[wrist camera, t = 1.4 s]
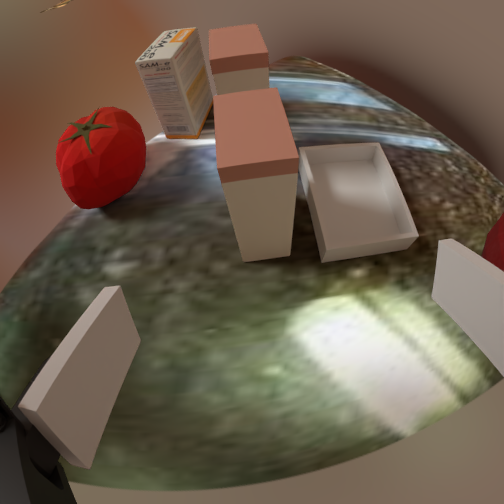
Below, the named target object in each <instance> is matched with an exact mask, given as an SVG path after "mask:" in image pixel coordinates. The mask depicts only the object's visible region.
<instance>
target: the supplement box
mask: <svg viewBox="0 0 504 504" xmlns="http://www.w3.org/2000/svg"><path fill="white" fill-rule="evenodd" d="M135 64H136V66H137V69H138V71H139V73H140V76H141V78H142V81H143V83H144V86H145V88H146V90H147V93H148V95H149V98H150V100H151V102H152V105H153V107H154V109H155V112H156V114H157V116H158V119H159V121H160V123H161V126H162V128H163V131H164V133H165V135H166V137H167V138H169V139H171V138H173V139H198V137H199V135H200V132H201V130H202V127H203V125H204V123H205V121H206V118H207V116H208V114H209V111H210V109H211V107H212V105H213V96H212V92H211V88H210V83H209V79H208V74H207V70H206V66H205V61H204V56H203V52H202V48H201V43H200V38H199V34H198V29H197V28H196V27H195V28H185V29H176V30H170V31H165V32H163V33H162V34H161V35H160V36H159V37H158V38H157V39H156V40H155V41H154V42H153V43H152V44H151V46H149V48H148V49H147V50H146V51H145V52H144V53H143V54H142V55H141V56H140V57H139V58H138V60H137V61H136V62H135Z"/></svg>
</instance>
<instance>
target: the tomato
mask: <svg viewBox="0 0 504 504" xmlns="http://www.w3.org/2000/svg"><path fill="white" fill-rule="evenodd" d="M69 124H71V125H70V126H69V127H68V128H67V129H66V131H65V132H64V133H63V135H62V136H61V138H60V139H59V142H58V146H57V150H56V165H57V167H58V170H59V172H60V177H61V182H62V186H63V188H64V190H65V191H66V193H67V194H68V196H69V197H70V199H71V200H72V202H74V203H75V204H76V205H77V206H79V207H80V208H82V209H93V208H99V207H103V206H105V205H107V204H109V203H111V202H112V201H114V200H116V199H117V198H119V197H121V196H123V195H124V194H126V193H128V192H129V191H130V190H131V189H132V188H133V187H134V186H135V185H136V184H137V182H138V180H139V178H140V176H141V174H142V172H143V170H144V168H145V159H146V143H145V137H144V134H143V132H142V129H141V126H140V124H139V123H138V122H137V121H136V120H135V119H134V118H133V116H132V115H131V114H129V113H128V112H127V111H125V110H121V109H118V108H115V107H103V108H100V109H99V108H98V109H97V110H95V111H94V112H93V113H92V114H91V115H90V116H88V117H83V118H81V119H79V120H78V121H76V122H75V123H69Z"/></svg>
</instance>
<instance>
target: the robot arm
mask: <svg viewBox="0 0 504 504" xmlns="http://www.w3.org/2000/svg"><path fill="white" fill-rule="evenodd" d="M432 298H433V299H434V300H435V301H436V302H437V304H438V305H439V306H440V307H441V308H442V309H443V310H444V311H445V312H446V313H447V314H448V315H449V316H450V317H451V318H452V319H453V320H454V321H455V322H456V323H457V324H458V325H459V326H460V327H461V328H462V330H463V331H464V332H465V333H466V334H467V335H468V336H469V337H470V338H471V339H472V340H473V342H474V343H475V344H476V345H477V346H478V347H479V348H480V349H481V351H482V352H483V353H484V354H485V355H486V356H487V358H488V359H489V360H490V361H491V362H492V363H493V365H494V366H495V367H496V368H497V369H498V371H499V372H500V373H501V374H502V375H503V377H504V272H503V271H502V270H500V269H499V268H497V267H496V266H495V265H493V264H492V263H490V262H488V261H487V260H485V259H484V258H482V257H481V256H479V255H478V254H476V253H475V252H473V251H471V250H470V249H468V248H467V247H465V246H463V245H462V244H460V243H458V242H457V241H455V240H453V239H452V238H451V239H445V240H439V244H438V254H437V263H436V271H435V278H434V285H433V291H432ZM140 342H141V340H140V337H139V335H138V332H137V330H136V327H135V325H134V322H133V320H132V317H131V314H130V312H129V309H128V306H127V304H126V301H125V298H124V295H123V292H122V289H121V287H120V286H112V287H104V289H103V290H102V291H101V292H100V293H99V295H98V296H97V297H96V298H95V300H94V301H93V302H92V303H91V305H90V306H89V307H88V308H87V310H86V311H85V312H84V313H83V315H82V316H81V317H80V318H79V320H78V321H77V322H76V324H75V325H74V326H73V327H72V329H71V330H70V331H69V333H68V334H67V335H66V337H65V338H64V339H63V341H62V342H61V343H60V345H59V346H58V348H57V349H56V350H55V352H54V353H53V354H52V355H51V356H50V357H48V358H47V359H46V360H45V361H44V362H43V363H42V365H41V366H40V368H39V369H38V370H37V374H36V373H35V375H34V376H33V378H32V379H31V380H32V381H31V382H29V384H28V385H27V387H26V388H25V390H24V391H23V393H22V394H21V396H20V397H19V399H18V400H17V402H16V404H15V405H14V407H13V408H12V410H10V408H9V407H8V406H7V405H6V403H5V402H4V401H3V399H2V398H1V397H0V504H77V502H76V500H75V498H74V495H73V493H72V490H71V488H70V485H69V483H68V480H67V477H66V475H65V472H64V469H63V467H62V465H61V464H60V463H59V462H58V459H59V456H60V455H61V456H62V457H63V458H65V459H66V460H67V461H68V462H69V463H70V464H71V465H74V466H78V467H82V468H86V469H90V468H91V465H92V462H93V459H94V456H95V453H96V451H97V448H98V445H99V442H100V440H101V437H102V434H103V432H104V429H105V426H106V424H107V421H108V418H109V416H110V413H111V411H112V408H113V406H114V403H115V401H116V398H117V396H118V393H119V391H120V388H121V386H122V384H123V381H124V379H125V376H126V374H127V372H128V369H129V367H130V365H131V362H132V360H133V358H134V356H135V353H136V351H137V349H138V347H139V344H140Z"/></svg>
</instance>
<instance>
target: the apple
mask: <svg viewBox="0 0 504 504" xmlns="http://www.w3.org/2000/svg"><path fill="white" fill-rule="evenodd" d="M481 257H482V258H484V259H485V260H487V261H488V262H490V263H492V264H493V265H495V266H496V267H497V268H499V269H500V270H502V271H503V272H504V213H503V214H502V216H501V217H500V219H499V220H498V221H497V223H496V224H495V225H494V226H493V228H492V229H491V230H490V232H489V233H488V235H487V238H486V242H485V246H484V249H483V253H482V256H481Z"/></svg>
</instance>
